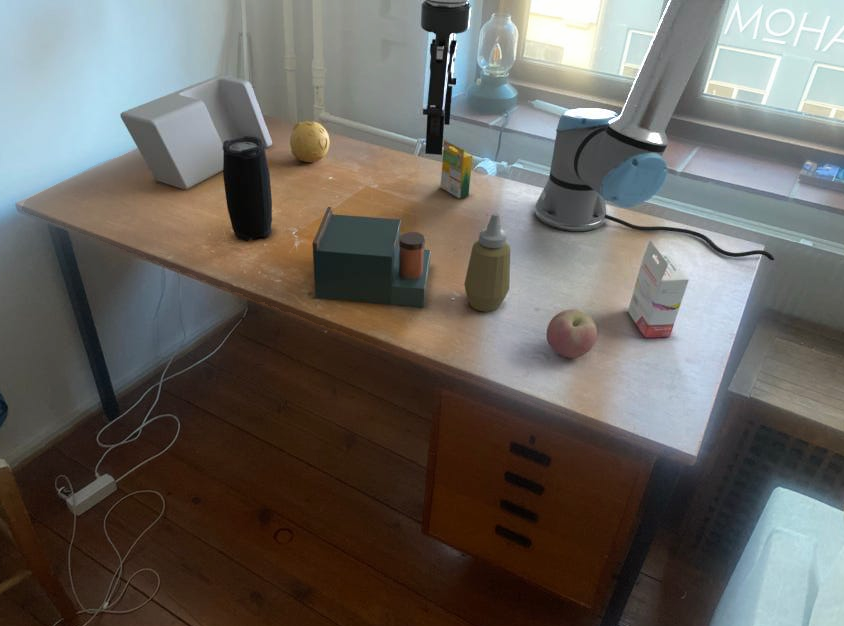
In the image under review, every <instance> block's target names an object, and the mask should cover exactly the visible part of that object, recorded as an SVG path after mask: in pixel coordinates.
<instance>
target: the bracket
mask: <svg viewBox="0 0 844 626" xmlns="http://www.w3.org/2000/svg"><path fill="white" fill-rule="evenodd" d="M119 116H120V118H121V121H122V122H123V124H124V126H125V127H126V129H127V132H128V133H129V135H130V136H131V137H130V138H131V139H132V141H133V142H134V143H135V146H136V147H137V149H138V152H140V155H141V156H142V159H143V160H144V162H145V164H146V165H147V167H148V169H149V170H150V172H151V174H152V176H153V178H154V179H155V180H156V181H157V182H159V183H163V184H166V185H170V186H172V187H176V188H178V189H182V190H184V191H185V190H189V189H190V188H192V187H194V186H196V185H198V184H200V183H201V182H204V181H205V180H207V179H209V178H211V177H213V176H215V175H217V174H220V173H221V172H223V155H224V151H223V148H222V146H223V143H224V142H225V141H227V140H234V139H239V138H243V137H245V136H252V137H257V138H259V139H261V141H262V143H263V146H264V149H267V148H269V147H271V146H272V145H273V142H272V138H271V136H270V133H269V130H268V127H267V124H266V122H265V119H264V116H263V114H262V111H261V107H260V106H259V103H258V99H257V97H256V94H255V90H254V88H253V86H252V84H251V82H250V81H249V80H245V79H241V78H237V77H232V76H228V75H223V74H218V75H215V76H213V77H210V78H208V79H205V80H203V81H200V82H198V83H195V84H192V85H189V86H187V87H184V88H181V89H180V90H177V91H174V92H171V93H168V94H166V95H163V96H161V97H158V98H156V99H153V100H150V101H148V102H145V103H142V104H140V105H137V106H135V107H132V108H130V109H127V110H125V111H122V112H120V115H119Z"/></svg>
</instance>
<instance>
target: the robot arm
mask: <svg viewBox="0 0 844 626" xmlns="http://www.w3.org/2000/svg"><path fill="white" fill-rule="evenodd" d="M470 1H471V0H424V1H423V2H422V3H421V10H420V11H421V13H420V16H421V17H420V27H421V28H422V29H423V31H425V32H428V33H433V34H434V35H435V38H432V39H431V43H430V47H429V55H430V59H429V60H430V61H429V81H428V82H429V83H428V91H427V93H428V94H427V104H426V108H423V109H422V115H423V116H424V115H425V116H426V129H425V151H424V153H425V155H436V156H438V155H439V156H443V149H444V135H445V134H444V133H445V131H444V130H445V126H450V125H451V111H452V99H453V98H452V97H453V86H457V81H458V78H457V77H454V76H455V72H454V71H455V61H456V54H457V53H456V52H457V51H458V50H457V48H458V40H457V39H456V35H458V34H462V33H465V32H467V31H468V30H469V28H470V24H471V23H470V21H471V11H472V5H471V4H470ZM725 2H726V0H668V2H667V5H666V7H665V10H664V12H663V15H662V17H661V19H660V21H659V23H658V26H657V28H656V31H655V33H654V35H653V38H652V40H651V42H650V44H649V47H648V50H647V52H646V54H645V56H644V58H643V61H642V63H641V66H640V67H639V68H640V69H639V71H638V73H637V76H636V78H635V79H634V82H633V85H632V87H631V90H630V92H629V94H628V96H627V99H626V102H625V104H624V106H623V108H622V110H621V113H620V115H618V113H616V112H614V111H612V110H608V109H603V108H592V107H591V108H589V107H587V108H574V109H570V110H567V111H564V112H563V113H562V114H561V115H560V116H559V119H558V124H557V127H556V130H555V133H556V134H555V140H554V146H553V151H552V157H551V164H550V171H549V175H548V180H547V182H546V184H545V186H544V187H543V190H542V191H541V193H540V195H539V197H538V199H537V200H536V204H535V207H534V214H535V216H536V218H537V219H538V220H539V221H540V222H542V223H543V224H544V225H547V226H549V227H551V228H554V229H558V230H562V231H567V232H588V231H593V230H596V229H598V228H600V227H602V226H603V224H604V223H605V222H606V221H605V220H608V221H611V222H614V223H617V224H620V225H622V226H624V227H627V228H630V229H632V230H636V231H637V230H638V231H646V232H647V231H666V232H675V233H681V234H687V235H690V236H691V235H692V236H695V237H697V238H700V239H701V240H703V241H705V242H706V243H707V244H708V245H709V247H710V248H712V249H713V250H714V251H715V252H717V253H718V254H721V255H723V256H726V257H730V258H731V257H733V258H742V257H749V256H755V255H761V256H764V257H766V258H767V259H768V260H769V261H775V257H774V256H773V254H772V253H769V252H768V251H766V250H762V249H761V250H760V249H757V250H749V251H742V252H730V251H727V250H724V249H722V248H720V247H719V246H718V245H717V244H715V242H713V240H711V238H709V237H708V236H706V234H703V233H701V232H698V231H695V230H692V229H687V228H681V227H674V226H673V227H671V226H659V225H656V226H644V225H643V226H642V225H637V224H632V223H630V222H627V221H625V220H622V219H620V218H618V217H614V216H611V215H609V214H607V204H606V201H607V202H610V203H612V205H615V207H619V208H623V209H624V208H625V209H628V208H629V209H630V208H634V207H637V206H640V205H642V204H643V203H645V202H646V201H649V200H651V198H653V197H654V196H655V195H656V194H657V193H658V192H659V191H660V189H661V188H662V187H663V185H664V183H665V181H666V179H667V176H668V163H667V162H666V159H665V157H663V156H664V153H665V150H666V149H667V147H668V144H669V139H668V136H667V134H666V129H667V127H668V125H669V123H670V120H671V119H672V117H673V114H674V111H675V110H676V107H677V106H678V103H679V101H680V99H681V96H682V94H683V92H684V90H685V89H686V86H687V85H688V82H689V79H690V77H691V75H692V73H693V71H694V68H695V67H696V64H697V62H698V60H699V58H700V56H701V54H702V52H703V50H704V47H705V46H706V43H707V41H708V39H709V37H710V35H711V32H712V31H713V28H714V26H715V24H716V21H717V19H718V17H719V15H720V13H721V11H722V9H723V7H724V5H725Z"/></svg>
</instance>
